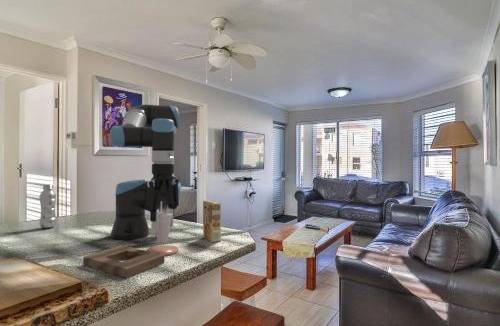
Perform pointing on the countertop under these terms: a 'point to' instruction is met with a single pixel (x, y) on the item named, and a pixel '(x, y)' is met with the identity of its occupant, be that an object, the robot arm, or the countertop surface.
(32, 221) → the countertop surface
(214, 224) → the candy box
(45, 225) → the plastic bottle
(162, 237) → the smoothie
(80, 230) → the countertop surface
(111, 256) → the frame
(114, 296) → the countertop surface
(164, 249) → the glossy peach dome
